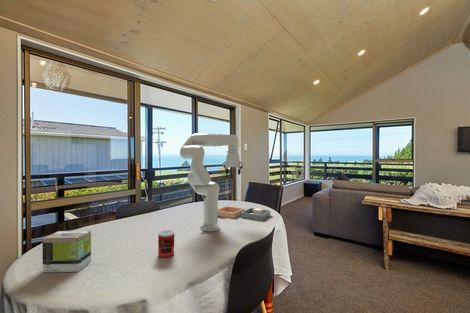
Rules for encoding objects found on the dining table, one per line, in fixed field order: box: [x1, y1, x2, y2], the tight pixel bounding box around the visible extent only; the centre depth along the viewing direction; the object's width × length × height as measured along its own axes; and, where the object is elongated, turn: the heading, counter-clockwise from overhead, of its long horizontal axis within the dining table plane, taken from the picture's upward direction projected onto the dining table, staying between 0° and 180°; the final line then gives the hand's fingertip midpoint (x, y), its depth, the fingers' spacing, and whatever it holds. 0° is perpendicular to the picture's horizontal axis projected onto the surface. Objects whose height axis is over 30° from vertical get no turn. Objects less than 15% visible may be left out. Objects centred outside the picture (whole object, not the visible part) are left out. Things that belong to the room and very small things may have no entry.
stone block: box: [253, 207, 264, 215], centre depth 184 cm, size 6×6×6 cm
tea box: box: [42, 230, 92, 273], centre depth 103 cm, size 15×10×15 cm, turn 92°
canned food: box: [157, 229, 175, 259], centre depth 116 cm, size 8×8×11 cm
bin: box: [239, 207, 271, 222], centre depth 185 cm, size 18×18×5 cm
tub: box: [218, 205, 246, 219], centre depth 191 cm, size 18×18×5 cm
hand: (233, 174), depth 178 cm, fingers open, 9 cm apart
